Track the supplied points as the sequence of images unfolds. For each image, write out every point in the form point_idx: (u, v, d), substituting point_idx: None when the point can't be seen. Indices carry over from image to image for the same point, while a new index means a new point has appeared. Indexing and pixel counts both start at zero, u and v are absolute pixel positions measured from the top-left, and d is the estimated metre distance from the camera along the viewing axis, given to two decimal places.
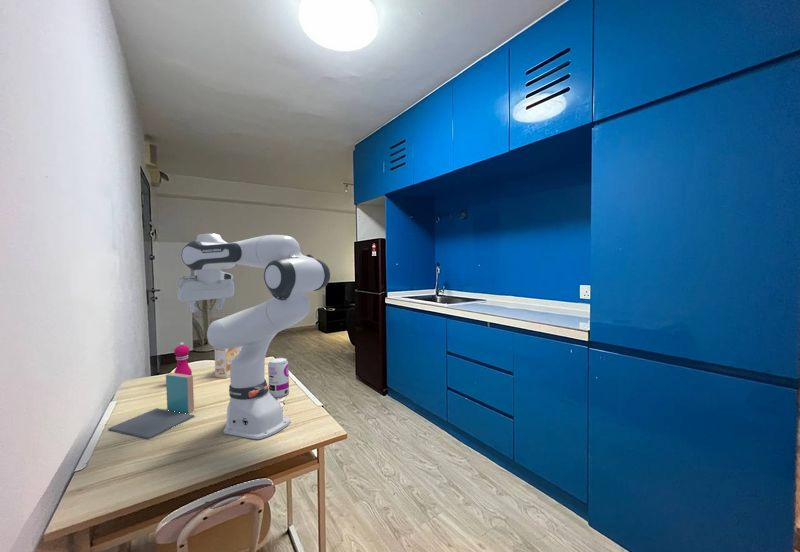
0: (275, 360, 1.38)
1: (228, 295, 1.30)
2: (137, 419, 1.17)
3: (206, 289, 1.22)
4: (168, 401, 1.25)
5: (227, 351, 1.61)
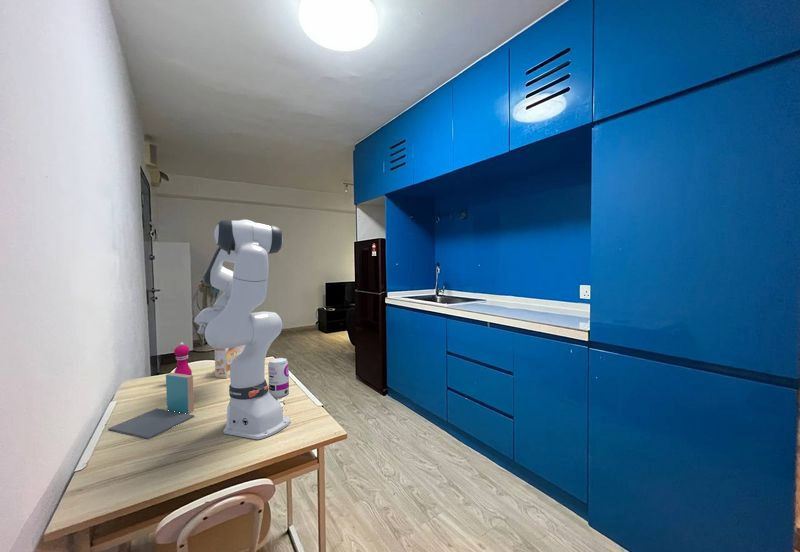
0: (275, 360, 1.38)
1: None
2: (137, 419, 1.17)
3: (213, 314, 1.40)
4: (168, 401, 1.25)
5: (227, 351, 1.61)
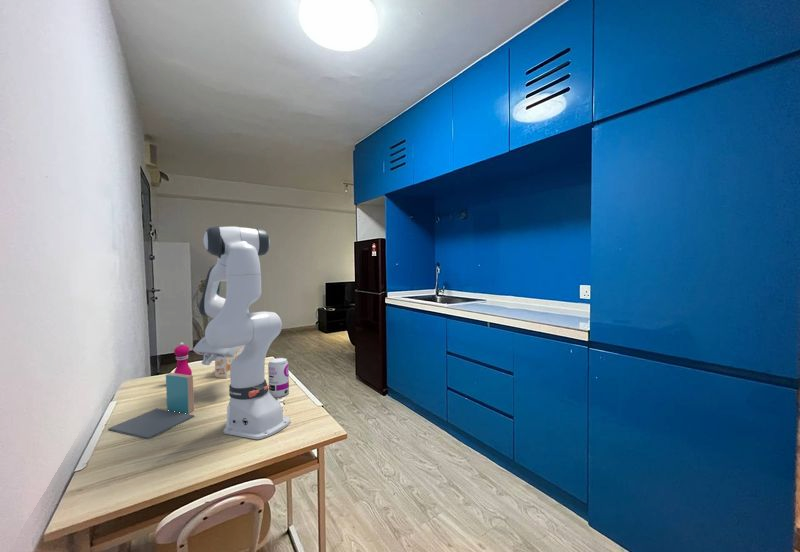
0: (275, 360, 1.38)
1: (223, 351, 1.35)
2: (137, 419, 1.17)
3: None
4: (168, 401, 1.25)
5: None
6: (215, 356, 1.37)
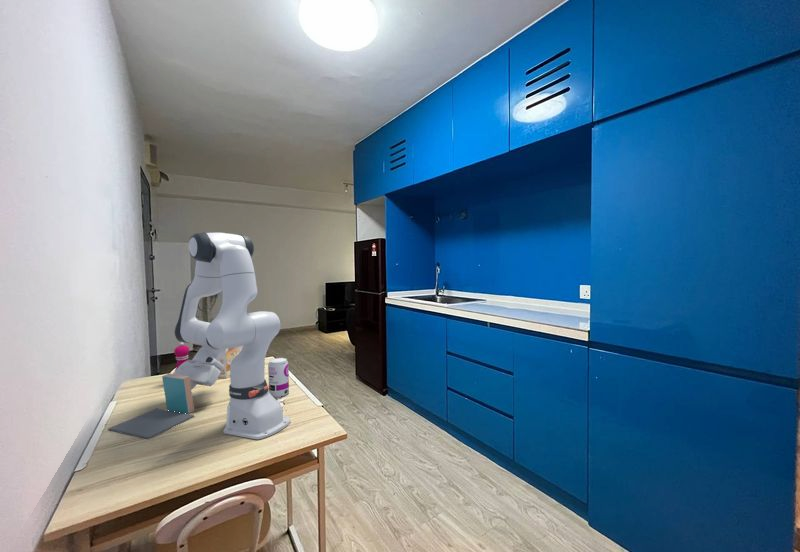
0: (275, 360, 1.38)
1: (202, 380, 1.26)
2: (137, 419, 1.17)
3: (192, 371, 1.31)
4: (167, 401, 1.25)
5: (227, 351, 1.61)
6: (194, 384, 1.28)
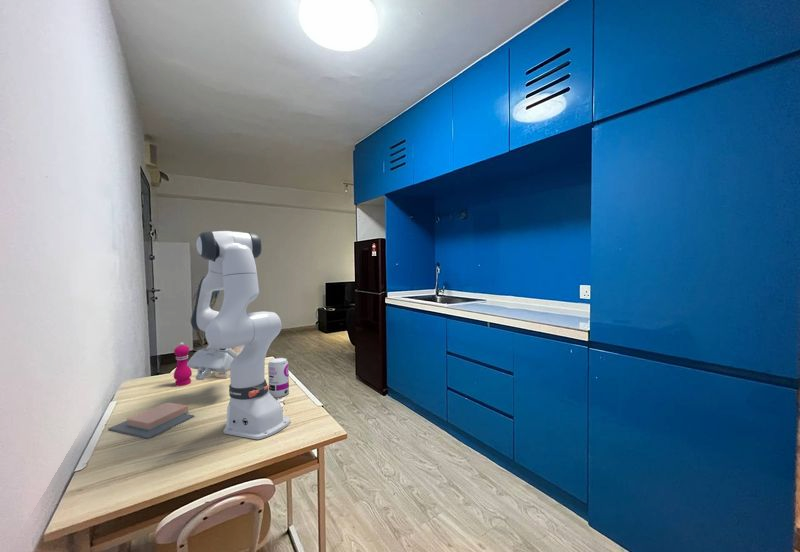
0: (275, 360, 1.38)
1: (217, 366, 1.32)
2: None
3: (206, 358, 1.37)
4: None
5: None
6: (209, 371, 1.34)
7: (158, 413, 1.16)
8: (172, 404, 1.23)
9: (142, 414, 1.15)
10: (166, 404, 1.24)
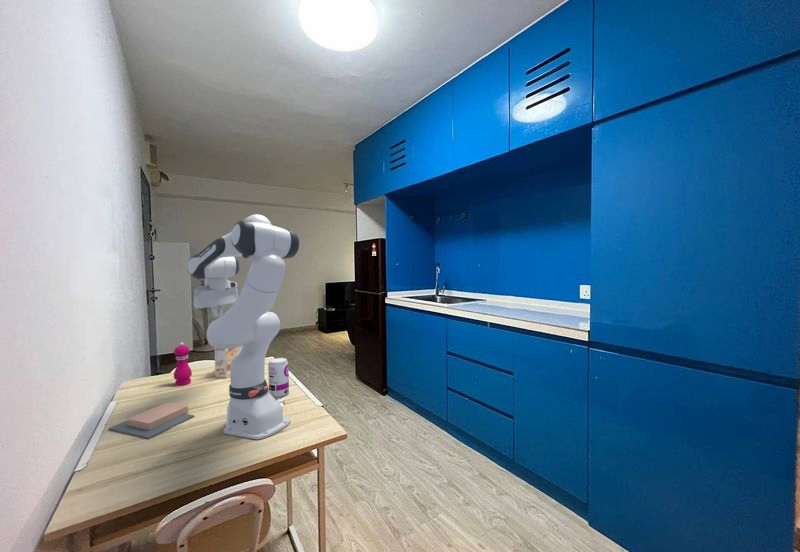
0: (275, 360, 1.38)
1: (233, 301, 1.48)
2: None
3: (217, 296, 1.40)
4: None
5: (227, 351, 1.61)
6: None
7: (158, 413, 1.16)
8: (172, 404, 1.23)
9: (142, 414, 1.15)
10: (166, 404, 1.24)
